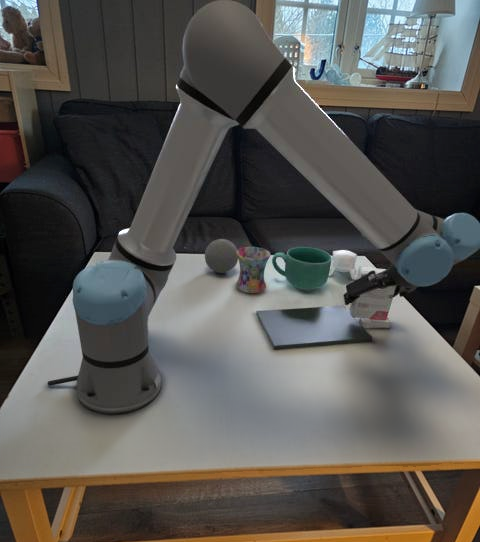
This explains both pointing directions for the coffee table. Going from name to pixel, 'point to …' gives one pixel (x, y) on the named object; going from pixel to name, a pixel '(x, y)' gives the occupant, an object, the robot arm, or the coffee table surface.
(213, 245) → the decorative ball
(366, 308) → the ink box
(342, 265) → the white figurine
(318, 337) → the slate board
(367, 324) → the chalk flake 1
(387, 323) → the chalk flake
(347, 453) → the coffee table surface
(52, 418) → the coffee table surface
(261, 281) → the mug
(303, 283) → the mug
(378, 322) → the chalk flake
